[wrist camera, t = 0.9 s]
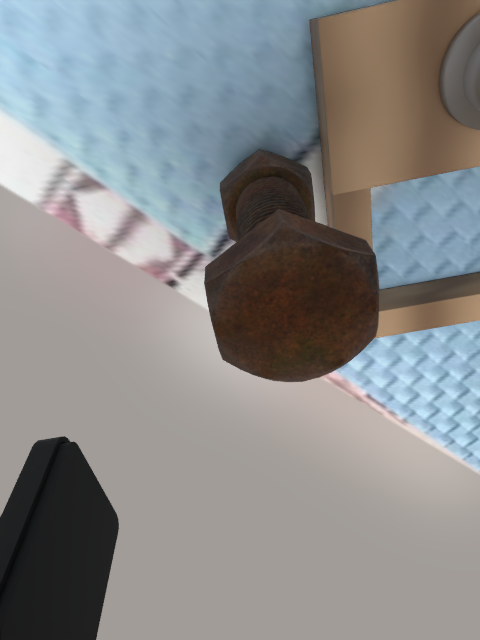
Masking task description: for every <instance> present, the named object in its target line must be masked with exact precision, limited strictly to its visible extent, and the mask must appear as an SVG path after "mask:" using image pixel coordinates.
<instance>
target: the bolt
mask: <svg viewBox="0 0 480 640" xmlns="http://www.w3.org/2000/svg"><path fill="white" fill-rule="evenodd" d="M220 192H221V199H222V205H223V210H224V215H225V220H226V225H227V230H228V234H229V238H230V239H232V240H234V241H236V243H235V244H234V245H233V246H231V247H230V248H229V249H227V250H226V251H225V252H224V253H222V254H221V255H220V256H219V257H217V258H216V259H215V260H213V261H212V262H211V263H210V264H208V265H207V266H206V267H205V282H204V284H205V290H206V296H207V302H208V307H209V312H210V316H211V321H212V325H213V329H214V333H215V337H216V340H217V344H218V348H219V351H220V354H221V356H222V359H223V360H224V361H226V362H228V363H230V364H231V365H233V366H235V367H237V368H239V369H241V370H243V371H245V372H248V373H250V374H252V375H255V376H258V377H262V378H265V379H269V380H273V381H283V382H303V381H307V380H311V379H314V378H318V377H321V376H323V375H326V374H329V373H331V372H333V371H334V370H336V369H338V368H340V367H342V366H343V365H345V364H346V363H348V362H349V361H351V360H352V359H353V358H354V357H355V356H357V355H358V354H359V353H360V352H361V351H362V350H363V349H364V348H365V347H366V346H367V345H368V344H369V343H370V342H371V341H372V340H373V339H374V338H375V337H376V334H377V329H378V324H379V281H378V271H377V263H376V255H375V254H374V252H373V250H372V249H371V247H370V246H369V244H368V243H367V241H366V240H364V239H362V238H359V237H356V236H353V235H350V234H348V233H345V232H342V231H339V230H336V229H334V228H331V227H328V226H325V225H323V224H320V223H317V222H315V208H314V196H313V186H312V179H311V173H310V171H309V170H308V168H307V167H305V166H303V165H301V164H299V163H297V162H295V161H292V160H290V159H288V158H285V157H283V156H280V155H277V154H274V153H272V152H268V151H265V150H261V149H259V150H258V151H256V152H255V153H254V154H252V155H251V156H249V157H248V158H247V159H245V160H244V161H243V162H242V163H240V164H239V165H238V166H237V167H236V168H235V169H234V170H233V171H232V172H231V173H229V174H228V176H227V177H226V178H225V179H224V180H223V181H222V182H221V183H220Z"/></svg>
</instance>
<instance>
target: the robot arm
mask: <svg viewBox="0 0 480 640" xmlns="http://www.w3.org/2000/svg"><path fill="white" fill-rule="evenodd" d="M118 529H119V523H118V517H117V514H116V512H115V510H114V509H113V507H112V505H111V503H110V501H109V500H108V498H107V496H106V495H105V492H104V491H103V489H102V487H101V485H100V484H99V482H98V480H97V478H96V476H95V475H94V473H93V471H92V469H91V468H90V466H89V464H88V462H87V460H86V459H85V457H84V455H83V454H82V452H81V450H80V448H79V446H78V445H77V444H76V443H75V442H70V441H69V440H68V438H66V437H57V438H51V439H45V440H39V441H37V442H36V443H35V444H34V445H33V447H32V449H31V451H30V453H29V456H28V458H27V460H26V462H25V464H24V467H23V469H22V471H21V473H20V475H19V478H18V480H17V482H16V484H15V487H14V489H13V491H12V493H11V495H10V498H9V500H8V502H7V505H6V507H5V509H4V511H3V513H2V515H1V517H0V640H96V637H97V632H98V627H99V622H100V617H101V613H102V607H103V603H104V598H105V593H106V588H107V583H108V578H109V573H110V569H111V564H112V559H113V554H114V549H115V544H116V540H117V535H118Z"/></svg>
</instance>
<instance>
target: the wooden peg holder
mask: <svg viewBox="0 0 480 640" xmlns="http://www.w3.org/2000/svg"><path fill="white" fill-rule="evenodd" d="M309 21H310V32H311V43H312V54H313V65H314V76H315V87H316V98H317V108H318V119H319V130H320V141H321V152H322V163H323V174H324V185H325V196H326V207H327V217H328V227H331V228H334V229H336V230H339V231H342V232H345V233H348V234H350V235H353V236H356V237H359V238H362V239H364V240H366V241H367V243H368V244H369V246H370V247H371V249H372V250H373V247H372V220H371V193H370V188H371V187H376V186H381V185H386V184H391V183H397V182H402V181H407V180H412V179H417V178H422V177H427V176H432V175H437V174H442V173H447V172H452V171H457V170H463V169H468V168H473V167H478V166H480V0H394V1H390V2H385V3H381V4H377V5H372V6H368V7H364V8H359V9H355V10H350V11H346V12H342V13H337V14H333V15H329V16H324V17H320V18H315V19H311V20H309ZM478 320H480V272H478V273H472V274H467V275H461V276H455V277H450V278H444V279H439V280H433V281H427V282H422V283H416V284H411V285H405V286H400V287H394V288H388V289H383V290H379V324H378V329H377V334H376V337H375V338H379V337H384V336H390V335H396V334H402V333H408V332H414V331H420V330H425V329H431V328H437V327H443V326H449V325H455V324H461V323H466V322H472V321H478Z"/></svg>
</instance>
